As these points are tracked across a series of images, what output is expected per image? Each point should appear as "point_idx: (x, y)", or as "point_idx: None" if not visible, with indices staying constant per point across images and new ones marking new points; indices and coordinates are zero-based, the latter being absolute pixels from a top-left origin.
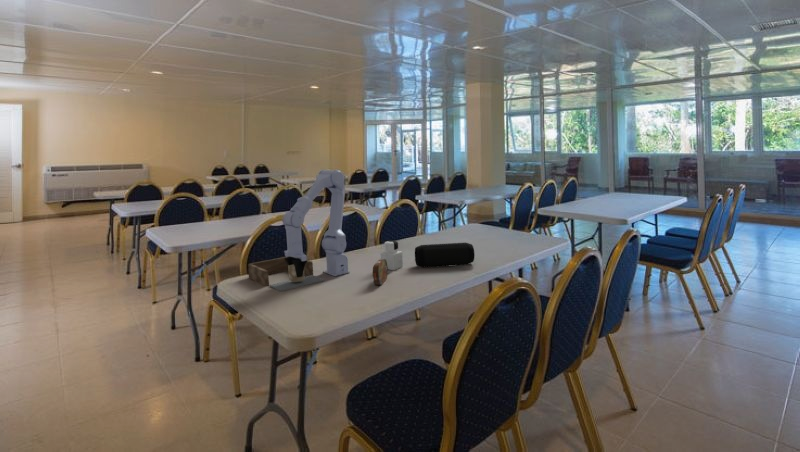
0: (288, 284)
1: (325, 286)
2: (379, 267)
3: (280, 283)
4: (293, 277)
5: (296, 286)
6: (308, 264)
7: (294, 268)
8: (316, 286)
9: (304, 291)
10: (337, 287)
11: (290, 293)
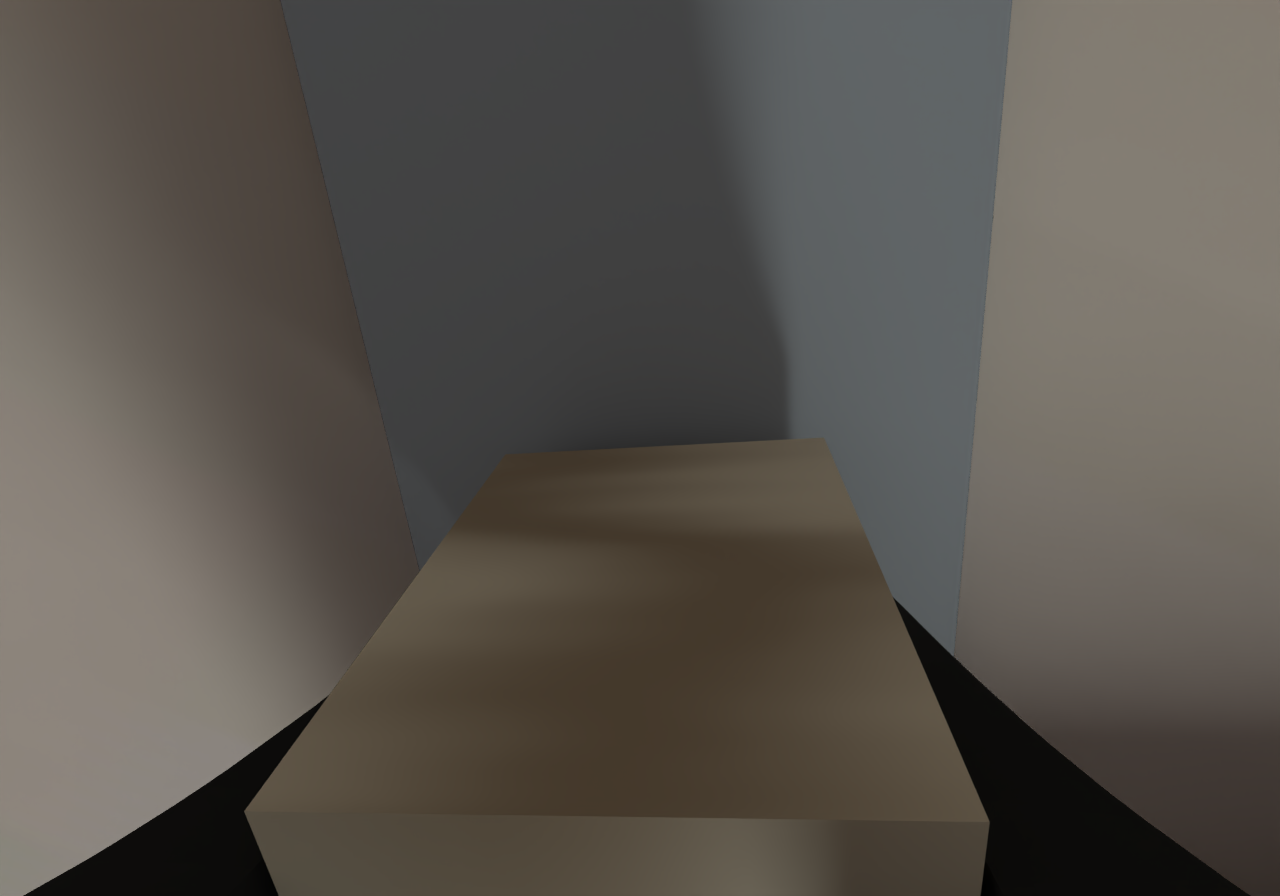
0: (630, 317)
1: (195, 789)
2: None
3: (890, 171)
4: (505, 510)
5: (386, 412)
6: None
7: (295, 793)
8: (267, 701)
9: (49, 414)
10: (65, 866)
11: (14, 97)
